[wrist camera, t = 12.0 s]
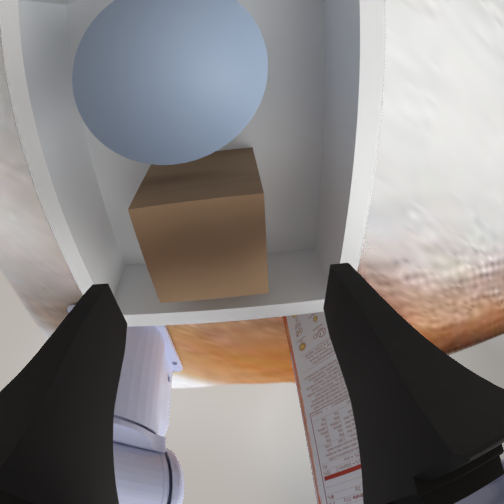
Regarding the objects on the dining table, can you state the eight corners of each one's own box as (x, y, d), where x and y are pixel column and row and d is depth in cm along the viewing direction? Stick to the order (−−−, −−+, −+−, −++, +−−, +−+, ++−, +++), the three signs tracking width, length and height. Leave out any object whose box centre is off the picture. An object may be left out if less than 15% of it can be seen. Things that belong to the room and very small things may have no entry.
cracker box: (416, 326, 27) (485, 513, 11) (369, 357, 30) (420, 538, 14) (339, 261, 21) (436, 578, 5) (278, 309, 24) (325, 594, 7)
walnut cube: (258, 230, 18) (268, 293, 14) (172, 239, 18) (160, 302, 14) (252, 147, 15) (263, 193, 11) (153, 159, 15) (127, 209, 11)
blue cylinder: (255, 100, 13) (279, 146, 8) (152, 121, 13) (102, 183, 8) (239, 2, 10) (252, -36, 5) (130, 27, 10) (56, 21, 5)
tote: (325, 252, 20) (348, 308, 16) (119, 270, 20) (100, 327, 16) (335, -41, 9) (379, -66, 5) (55, -4, 9) (-1, -9, 5)
